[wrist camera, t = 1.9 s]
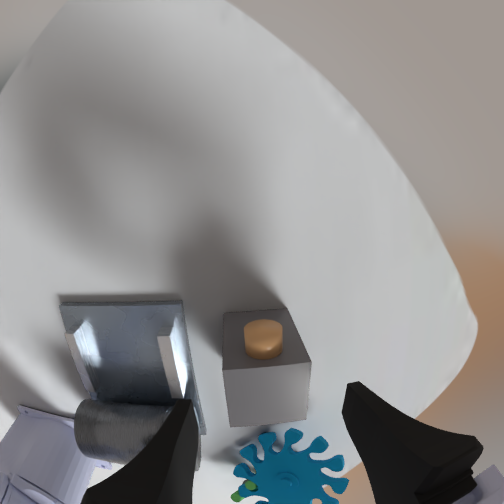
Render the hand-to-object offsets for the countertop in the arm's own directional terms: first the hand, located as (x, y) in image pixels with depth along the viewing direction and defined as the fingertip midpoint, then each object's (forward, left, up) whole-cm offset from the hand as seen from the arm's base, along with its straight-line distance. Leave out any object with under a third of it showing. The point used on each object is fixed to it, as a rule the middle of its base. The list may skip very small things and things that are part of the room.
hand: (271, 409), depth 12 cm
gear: (+1, -13, -7) cm, 15 cm away
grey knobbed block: (0, 0, -7) cm, 7 cm away
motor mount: (-9, -3, -7) cm, 12 cm away
